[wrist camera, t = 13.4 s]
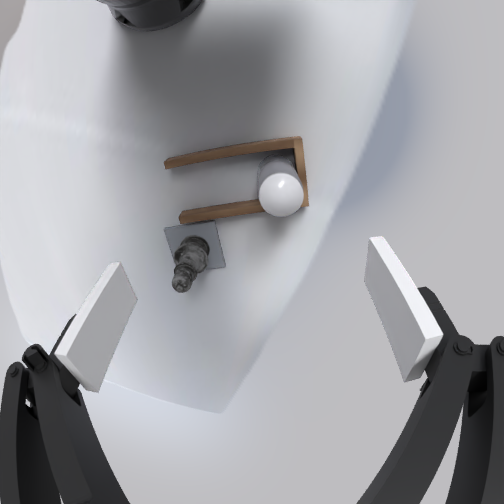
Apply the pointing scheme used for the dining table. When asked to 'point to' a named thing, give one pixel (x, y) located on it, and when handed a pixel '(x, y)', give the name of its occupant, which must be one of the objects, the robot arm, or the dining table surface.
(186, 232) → the coaster
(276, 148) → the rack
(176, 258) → the grey chess piece
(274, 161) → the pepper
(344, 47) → the dining table surface
